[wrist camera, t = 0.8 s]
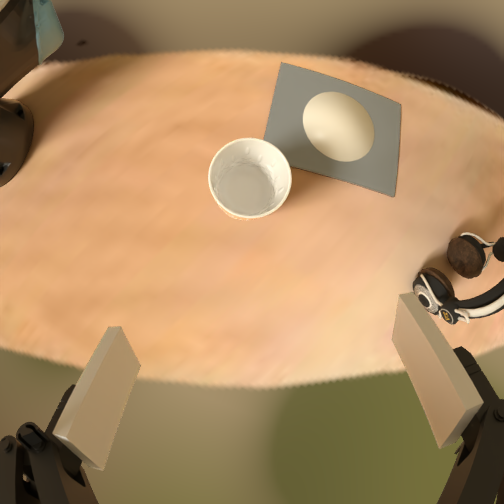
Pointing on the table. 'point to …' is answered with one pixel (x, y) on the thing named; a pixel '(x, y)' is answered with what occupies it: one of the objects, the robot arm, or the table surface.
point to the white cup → (249, 178)
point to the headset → (467, 265)
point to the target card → (335, 129)
